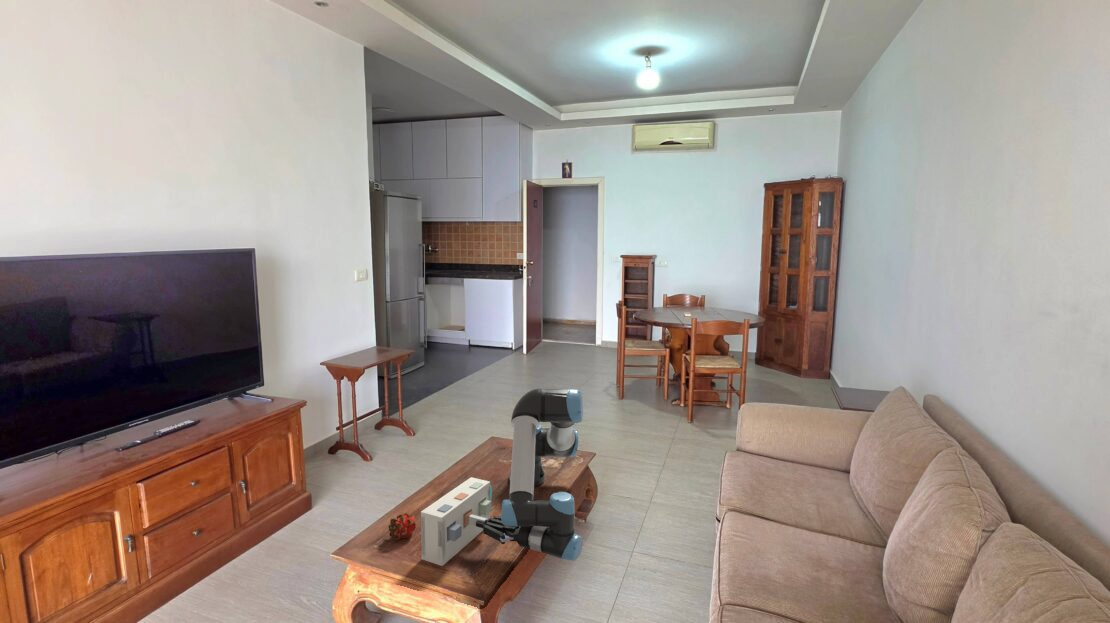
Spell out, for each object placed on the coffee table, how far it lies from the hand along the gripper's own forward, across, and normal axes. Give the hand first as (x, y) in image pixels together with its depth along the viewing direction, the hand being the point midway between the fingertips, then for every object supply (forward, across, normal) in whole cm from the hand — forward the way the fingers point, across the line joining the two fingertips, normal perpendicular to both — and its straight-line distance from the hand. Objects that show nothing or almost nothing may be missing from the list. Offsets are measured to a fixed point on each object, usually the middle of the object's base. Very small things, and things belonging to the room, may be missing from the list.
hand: (470, 519), depth 182 cm
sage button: (+1, +9, -2) cm, 9 cm away
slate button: (+1, -9, -2) cm, 9 cm away
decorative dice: (+12, +24, -9) cm, 28 cm away
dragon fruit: (+23, -6, -9) cm, 26 cm away
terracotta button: (+3, 0, -2) cm, 3 cm away
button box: (+5, 0, -9) cm, 10 cm away
